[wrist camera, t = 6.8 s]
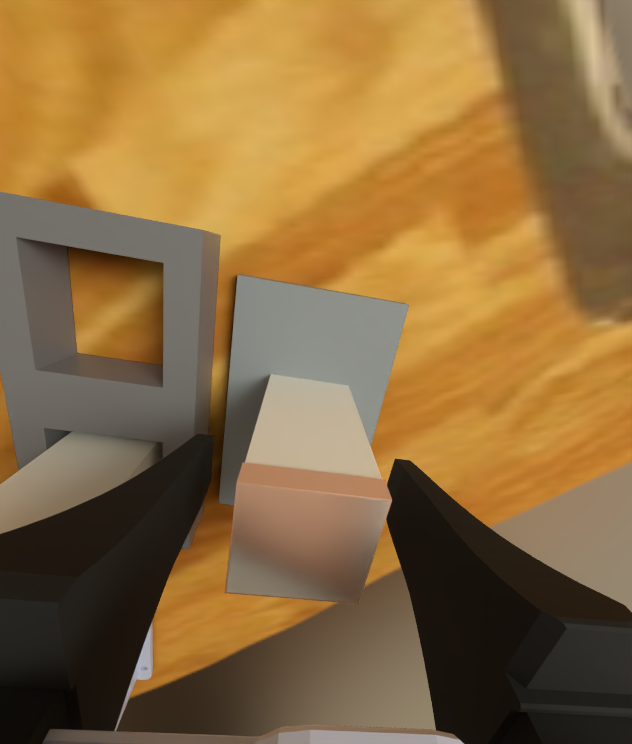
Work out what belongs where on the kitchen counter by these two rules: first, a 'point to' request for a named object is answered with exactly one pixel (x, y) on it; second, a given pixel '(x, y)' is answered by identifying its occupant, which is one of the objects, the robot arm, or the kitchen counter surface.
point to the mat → (303, 354)
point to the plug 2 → (306, 497)
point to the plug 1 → (72, 475)
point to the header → (94, 373)
